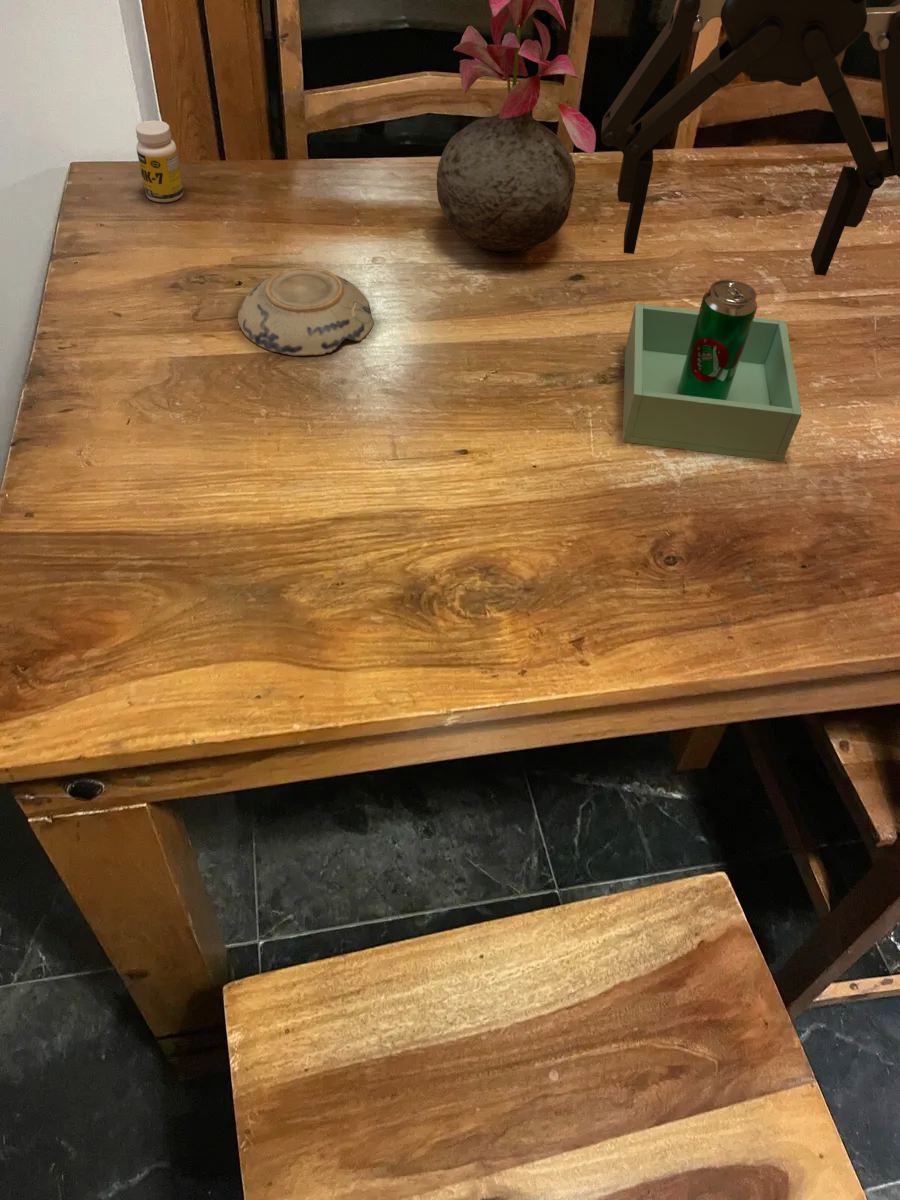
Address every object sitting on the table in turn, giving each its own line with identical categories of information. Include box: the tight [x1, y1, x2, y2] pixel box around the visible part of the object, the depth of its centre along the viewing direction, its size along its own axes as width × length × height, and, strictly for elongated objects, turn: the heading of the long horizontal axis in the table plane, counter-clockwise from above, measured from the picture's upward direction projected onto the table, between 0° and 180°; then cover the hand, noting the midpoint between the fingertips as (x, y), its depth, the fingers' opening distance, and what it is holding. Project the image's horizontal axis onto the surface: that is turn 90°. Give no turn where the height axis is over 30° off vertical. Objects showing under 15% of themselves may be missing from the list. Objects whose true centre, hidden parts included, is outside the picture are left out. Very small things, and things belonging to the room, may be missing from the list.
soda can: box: [678, 279, 758, 400], centre depth 91 cm, size 5×5×12 cm
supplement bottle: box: [135, 120, 184, 204], centre depth 116 cm, size 5×5×8 cm
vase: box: [436, 0, 597, 256], centre depth 104 cm, size 17×17×30 cm
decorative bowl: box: [237, 266, 374, 357], centre depth 102 cm, size 15×4×15 cm
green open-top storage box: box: [622, 302, 803, 462], centre depth 94 cm, size 16×16×6 cm
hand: (722, 255), depth 68 cm, fingers open, 13 cm apart
